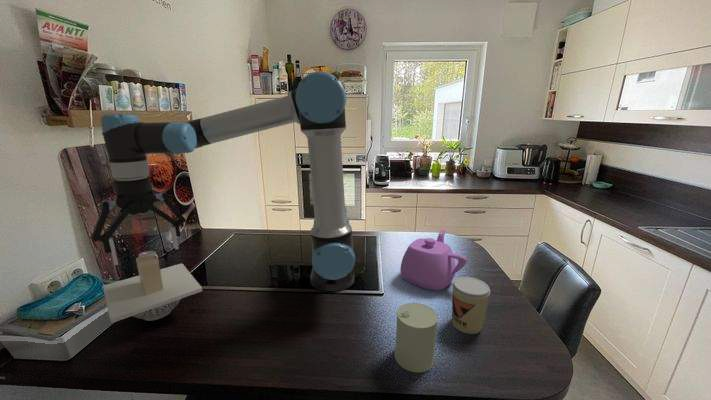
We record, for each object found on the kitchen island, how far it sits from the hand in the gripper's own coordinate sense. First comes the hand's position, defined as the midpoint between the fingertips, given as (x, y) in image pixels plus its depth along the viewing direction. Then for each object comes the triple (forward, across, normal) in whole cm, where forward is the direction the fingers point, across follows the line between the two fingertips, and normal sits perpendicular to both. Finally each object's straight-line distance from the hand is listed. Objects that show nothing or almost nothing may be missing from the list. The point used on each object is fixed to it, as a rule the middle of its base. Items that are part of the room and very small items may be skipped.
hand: (147, 255), depth 80 cm
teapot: (+19, -73, +42) cm, 86 cm away
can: (+19, -40, +60) cm, 74 cm away
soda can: (+18, -2, -17) cm, 25 cm away
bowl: (+18, 0, 0) cm, 18 cm away
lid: (+11, 0, 0) cm, 11 cm away
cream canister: (+19, -60, +63) cm, 89 cm away
